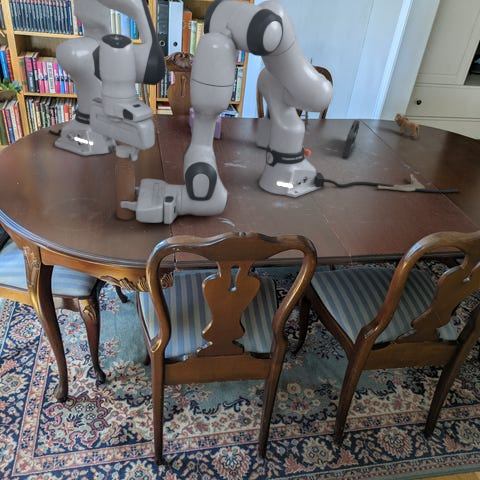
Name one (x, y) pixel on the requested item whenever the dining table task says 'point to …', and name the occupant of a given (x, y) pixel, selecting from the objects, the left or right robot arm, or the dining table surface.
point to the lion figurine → (406, 124)
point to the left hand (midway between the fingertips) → (122, 155)
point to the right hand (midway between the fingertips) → (122, 198)
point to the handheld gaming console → (351, 139)
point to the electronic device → (264, 131)
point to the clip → (217, 126)
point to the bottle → (124, 187)
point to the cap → (123, 151)
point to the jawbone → (405, 187)
